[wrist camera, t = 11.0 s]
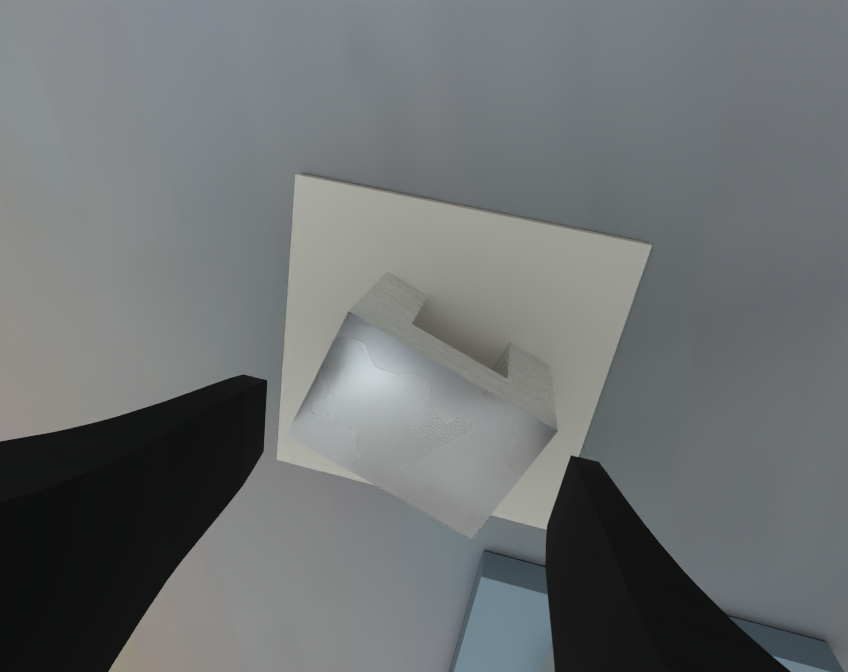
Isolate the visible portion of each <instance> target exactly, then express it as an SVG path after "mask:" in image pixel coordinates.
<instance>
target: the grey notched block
mask: <svg viewBox="0 0 848 672" xmlns="http://www.w3.org/2000/svg"><path fill="white" fill-rule="evenodd" d="M427 297H428V295H427V294H426V293H424V292H422V291H420V290H419V289H417V288H415V287H413V286H412V285H410V284H408V283H406V282H405V281H403V280H401V279H399V278H398V277H396V276H394V275H393V274H391V273H389V272H386V273H385V274H384V275H383V276H382V277H381V278H380V279H379V280H378V281H377V282H376V284H375V285H374V286H373V287H372V288H371V289H370V290H369V291H368V292H367V293H366V294H365V295H364V296H363V297H362V298H361V299H360V300H359V301H358V302H357V303H356V304H355V305H354V306H353V307H352V308H351V309H350V310H349V311H348V313H347V315H346V317H345V319H344V321H343V323H342V325H341V327H340V329H339V331H338V333H337V335H336V337H335V339H334V341H333V343H332V345H331V347H330V349H329V351H328V353H327V355H326V357H325V359H324V361H323V363H322V365H321V367H320V369H319V371H318V373H317V375H316V377H315V379H314V381H313V383H312V385H311V387H310V389H309V390H308V392H307V394H306V396H305V398H304V400H303V402H302V404H301V406H300V408H299V410H298V412H297V414H296V416H295V418H294V420H293V422H292V424H291V426H290V428H289V430H288V432H287V434H286V435H287V436H288V437H290V438H292V439H294V440H296V441H297V442H299V443H301V444H303V445H304V446H306V447H308V448H310V449H312V450H313V451H315V452H317V453H319V454H321V455H322V456H324V457H326V458H328V459H329V460H331V461H333V462H335V463H337V464H338V465H340V466H342V467H344V468H345V469H347V470H349V471H351V472H353V473H354V474H356V475H358V476H360V477H362V478H363V479H365V480H367V481H369V482H370V483H372V484H374V485H376V486H378V487H379V488H381V489H383V490H385V491H386V492H388V493H390V494H392V495H394V496H395V497H397V498H399V499H401V500H402V501H404V502H406V503H408V504H410V505H411V506H413V507H415V508H417V509H419V510H420V511H422V512H424V513H426V514H427V515H429V516H431V517H433V518H435V519H436V520H438V521H440V522H442V523H443V524H445V525H447V526H449V527H451V528H452V529H454V530H456V531H458V532H459V533H461V534H463V535H465V536H467V537H468V538H470V539H472V538H473V537H474V536H475V534H476V533H477V532H478V531H479V529H480V528H481V527H482V526H483V524H484V523H485V522H486V521H487V519H488V518H489V517H490V516H491V514H492V513H493V512H494V511H495V509H496V508H497V507H498V506H499V504H500V503H501V502H502V501H503V499H504V498H505V497H506V496H507V494H508V493H509V492H510V491H511V489H512V488H513V487H514V485H515V484H516V483H517V482H518V480H519V479H520V478H521V477H522V475H523V474H524V473H525V472H526V470H527V469H528V468H529V467H530V465H531V464H532V463H533V462H534V460H535V459H536V458H537V457H538V455H539V454H540V453H541V452H542V450H543V449H544V448H545V447H546V445H547V444H548V443H549V442H550V440H551V439H552V438H553V437H554V435H555V434H556V433H557V432H558V428H557V419H556V411H555V402H554V393H553V385H552V376H551V367H550V365H549V364H547V363H545V362H544V361H542V360H540V359H538V358H537V357H535V356H533V355H532V354H530V353H528V352H526V351H525V350H523V349H521V348H519V347H518V346H516V345H514V344H512V343H511V342H510V343H509V344H508V345H507V347H506V348H505V350H504V351H503V353H502V354H501V356H500V357H499V359H498V360H497V362H496V363H495V365H494V366H493V368H492V369H489V368H488V367H486V366H484V365H483V364H481V363H479V362H477V361H476V360H474V359H472V358H470V357H469V356H467V355H465V354H463V353H462V352H460V351H458V350H456V349H455V348H453V347H451V346H449V345H448V344H446V343H444V342H442V341H441V340H439V339H437V338H435V337H434V336H432V335H430V334H428V333H427V332H425V331H423V330H421V329H420V328H418V327H416V326H414V325H413V324H412V323H413V321H414V319H415V318H416V316H417V314H418V312H419V311H420V309H421V307H422V305H423V304H424V302H425V300H426V298H427Z"/></svg>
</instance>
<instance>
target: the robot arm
mask: <svg viewBox="0 0 848 672" xmlns="http://www.w3.org/2000/svg"><path fill="white" fill-rule="evenodd" d="M266 394H267V380H263V379H259V378H255V377H251V376H247V375H240V376H236V377H233V378H229V379H226V380H223V381H221V382H218V383H215V384H212V385H209V386H207V387H204V388H201V389H198V390H196V391H193V392H190V393H187V394H184V395H182V396H179V397H176V398H173V399H170V400H168V401H165V402H162V403H159V404H155V405H152V406H149V407H146V408H143V409H140V410H137V411H133V412H130V413H127V414H124V415H121V416H117V417H114V418H110V419H107V420H103V421H99V422H95V423H92V424H87V425H83V426H79V427H75V428H70V429H66V430H62V431H57V432H52V433H46V434H41V435H35V436H29V437H24V438H18V439H12V440H7V441H1V442H0V672H108V671H109V669H110V668H111V666H112V664H113V663H114V661H115V660H116V658H117V657H118V655H119V653H120V652H121V650H122V649H123V647H124V645H125V644H126V642H127V641H128V639H129V638H130V636H131V634H132V633H133V631H134V630H135V628H136V626H137V625H138V623H139V622H140V620H141V619H142V617H143V616H144V614H145V613H146V611H147V610H148V608H149V607H150V605H151V604H152V602H153V601H154V599H155V598H156V596H157V595H158V593H159V592H160V590H161V589H162V587H163V586H164V584H165V583H166V581H167V580H168V578H169V577H170V576H171V574H172V573H173V572H174V570H175V569H176V568H177V566H178V565H179V564H180V562H181V561H182V560H183V559H184V557H185V556H186V555H187V554H188V552H189V551H190V550H191V549H192V548H193V546H194V545H195V544H196V543H197V542H198V540H199V539H200V538H201V537H202V535H203V534H204V533H205V532H206V531H207V529H208V528H209V527H210V526H211V524H212V523H213V522H214V521H215V520H216V518H217V517H218V516H219V515H220V513H221V512H222V511H223V510H224V509H225V507H226V506H227V505H228V504H229V502H230V501H231V500H232V499H233V497H234V496H235V495H236V494H237V492H238V491H239V490H240V489H241V487H242V486H243V484H244V483H245V481H246V480H247V478H248V476H249V475H250V473H251V472H252V470H253V468H254V467H255V465H256V463H257V462H258V460H259V458H260V456H261V455H262V453H263V450H264V431H265V413H266ZM545 568H546V581H547V592H548V603H549V613H550V624H551V634H552V645H553V655H554V666H555V672H791V671H790V670H788V669H787V668H786V667H785V666H784V665H782V664H781V663H780V662H779V661H777V660H776V659H775V658H774V657H773V656H772V655H770V654H769V653H768V652H767V651H766V650H765V649H764V648H763V647H761V646H760V645H759V644H758V643H757V642H756V641H755V640H754V639H752V638H751V637H750V636H749V635H748V634H747V633H746V632H744V631H743V630H742V629H741V628H740V627H739V626H738V625H737V624H736V623H735V622H734V621H732V620H731V619H730V618H729V617H728V616H727V615H726V614H725V613H724V612H723V611H722V610H721V609H720V608H719V607H718V606H717V605H716V604H715V603H714V602H713V601H712V600H711V599H710V598H709V597H708V596H707V595H706V594H705V593H704V592H703V591H702V590H701V589H700V588H699V587H698V586H697V585H696V584H695V583H694V582H693V581H692V579H691V578H690V577H689V576H688V575H687V574H686V573H685V572H684V571H683V570H682V569H681V567H680V566H679V565H678V564H677V563H676V562H675V560H674V559H673V558H672V557H671V556H670V555H669V554H668V552H667V551H666V550H665V549H664V548H663V547H662V545H661V544H660V543H659V542H658V540H657V539H656V538H655V537H654V536H653V534H652V533H651V532H650V531H649V529H648V528H647V527H646V525H645V524H644V523H643V522H642V520H641V519H640V518H639V516H638V515H637V514H636V512H635V511H634V510H633V508H632V507H631V506H630V504H629V503H628V502H627V500H626V499H625V497H624V496H623V495H622V493H621V492H620V491H619V489H618V488H617V486H616V485H615V484H614V482H613V481H612V479H611V478H610V477H609V475H608V474H607V472H606V471H605V470H604V468H603V467H602V466H601V464H600V463H599V462H597V461H592V460H588V459H584V458H580V457H576V456H572V455H571V456H570V459H569V462H568V465H567V468H566V471H565V474H564V477H563V480H562V483H561V486H560V489H559V492H558V495H557V498H556V501H555V503H554V506H553V509H552V512H551V515H550V518H549V521H548V524H547V536H546V566H545Z"/></svg>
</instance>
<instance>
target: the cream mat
mask: <svg viewBox="0 0 848 672" xmlns="http://www.w3.org/2000/svg"><path fill="white" fill-rule="evenodd" d="M651 247H652V245H651V244H650V243H649V242H644V241H639V240H634V239H629V238H624V237H619V236H614V235H609V234H604V233H599V232H594V231H588V230H583V229H578V228H573V227H568V226H563V225H558V224H553V223H548V222H543V221H538V220H533V219H528V218H523V217H518V216H513V215H508V214H503V213H498V212H493V211H488V210H483V209H478V208H473V207H468V206H463V205H458V204H453V203H448V202H443V201H438V200H433V199H428V198H423V197H418V196H413V195H408V194H403V193H398V192H393V191H388V190H383V189H378V188H373V187H368V186H363V185H358V184H353V183H348V182H343V181H338V180H332V179H327V178H322V177H317V176H312V175H307V174H302V173H300V174H295V189H294V204H293V219H292V234H291V249H290V265H289V280H288V295H287V310H286V325H285V340H284V356H283V371H282V386H281V401H280V416H279V431H278V447H277V460H280V461H284V462H288V463H291V464H295V465H299V466H303V467H307V468H311V469H315V470H318V471H322V472H326V473H330V474H334V475H338V476H341V477H345V478H349V479H353V480H357V481H361V482H365V483H368V484H372V483H370V482H369V481H367V480H365V479H363V478H362V477H360V476H358V475H356V474H354V473H353V472H351V471H349V470H347V469H345V468H344V467H342V466H340V465H338V464H337V463H335V462H333V461H331V460H329V459H328V458H326V457H324V456H322V455H321V454H319V453H317V452H315V451H313V450H312V449H310V448H308V447H306V446H304V445H303V444H301V443H299V442H297V441H296V440H294V439H292V438H290V437H288V436H287V435H286V434H287V432H288V430H289V428H290V426H291V424H292V422H293V420H294V418H295V416H296V414H297V412H298V410H299V408H300V406H301V404H302V402H303V400H304V398H305V396H306V394H307V392H308V390H309V389H310V387H311V385H312V383H313V381H314V379H315V377H316V375H317V373H318V371H319V369H320V367H321V365H322V363H323V361H324V359H325V357H326V355H327V353H328V351H329V349H330V347H331V345H332V343H333V341H334V339H335V337H336V335H337V333H338V331H339V329H340V327H341V325H342V323H343V321H344V319H345V317H346V315H347V313H348V311H349V310H350V309H351V308H352V307H353V306H354V305H355V304H356V303H357V302H358V301H359V300H360V299H361V298H362V297H363V296H364V295H365V294H366V293H367V292H368V291H369V290H370V289H371V288H372V287H373V286H374V285H375V284H376V282H377V281H378V280H379V279H380V278H381V277H382V276H383V275H384V274H385V273H386V272H389V273H391V274H393V275H394V276H396V277H398V278H399V279H401V280H403V281H405V282H406V283H408V284H410V285H412V286H413V287H415V288H417V289H419V290H420V291H422V292H424V293H426V294H427V295H428V297H427V298H426V300H425V302H424V304H423V305H422V307H421V309H420V311H419V312H418V314H417V316H416V318H415V319H414V321H413V323H412V324H413V325H414V326H416V327H418V328H420V329H421V330H423V331H425V332H427V333H428V334H430V335H432V336H434V337H435V338H437V339H439V340H441V341H442V342H444V343H446V344H448V345H449V346H451V347H453V348H455V349H456V350H458V351H460V352H462V353H463V354H465V355H467V356H469V357H470V358H472V359H474V360H476V361H477V362H479V363H481V364H483V365H484V366H486V367H488V368H489V369H492V368H493V366H494V365H495V363H496V362H497V360H498V359H499V357H500V356H501V354H502V353H503V351H504V350H505V348H506V347H507V345H508V344H509V343H510V342H511V343H512V344H514V345H516V346H518V347H519V348H521V349H523V350H525V351H526V352H528V353H530V354H532V355H533V356H535V357H537V358H538V359H540V360H542V361H544V362H545V363H547V364H549V365H550V367H551V376H552V385H553V393H554V402H555V411H556V419H557V428H558V432H557V433H556V434H555V435H554V437H553V438H552V439H551V440H550V442H549V443H548V444H547V445H546V447H545V448H544V449H543V450H542V452H541V453H540V454H539V455H538V457H537V458H536V459H535V460H534V462H533V463H532V464H531V465H530V467H529V468H528V469H527V470H526V472H525V473H524V474H523V475H522V477H521V478H520V479H519V480H518V482H517V483H516V484H515V485H514V487H513V488H512V489H511V491H510V492H509V493H508V494H507V496H506V497H505V498H504V499H503V501H502V502H501V503H500V504H499V506H498V507H497V508H496V509H495V511H494V512H493V513H492V514H491V515H492V516H496V517H500V518H503V519H507V520H511V521H515V522H519V523H523V524H526V525H530V526H534V527H538V528H542V529H546V530H547V524H548V521H549V518H550V515H551V512H552V509H553V506H554V503H555V501H556V498H557V495H558V492H559V489H560V486H561V483H562V480H563V477H564V474H565V471H566V468H567V465H568V462H569V459H570V456H571V455H572V456H576V457H579V455H580V452H581V449H582V446H583V443H584V440H585V437H586V435H587V432H588V429H589V426H590V423H591V420H592V417H593V414H594V412H595V409H596V406H597V403H598V400H599V397H600V394H601V391H602V388H603V386H604V383H605V380H606V377H607V374H608V371H609V368H610V365H611V363H612V360H613V357H614V354H615V351H616V348H617V345H618V342H619V340H620V337H621V334H622V331H623V328H624V325H625V322H626V319H627V316H628V314H629V311H630V308H631V305H632V302H633V299H634V296H635V293H636V291H637V288H638V285H639V282H640V279H641V276H642V273H643V270H644V267H645V265H646V262H647V259H648V256H649V253H650V250H651ZM372 485H374V484H372Z"/></svg>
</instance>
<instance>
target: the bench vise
mask: <svg viewBox="0 0 848 672" xmlns="http://www.w3.org/2000/svg"><path fill="white" fill-rule="evenodd" d="M728 617H729V618H730V619H731V620H732V621H734V622H735V623H736V624H737V625H738V626H739V627H740V628H741V629H742V630H743V631H744V632H746V633H747V634H748V635H749V636H750V637H751V638H752V639H754V640H755V641H756V642H757V643H758V644H759V645H760V646H761V647H763V648H764V649H765V650H766V651H767V652H768V653H769V654H770V655H772V656H773V657H774V658H775V659H776V660H777V661H779V662H780V663H781V664H782V665H784V666H785V667H786V668H787V669H788V670H790V671H791V672H844V671H843V669H842V667H841V666H840V664H839V662H838V661H837V659H836V657H835V656H834V654H833V652H832V651H831V649H830V647H829V645H828V644H827V642H823V641H820V640H816V639H812V638H809V637H805V636H801V635H797V634H794V633H790V632H786V631H782V630H779V629H775V628H771V627H767V626H764V625H760V624H756V623H752V622H749V621H745V620H741V619H737V618H734V617H730V616H728ZM450 672H555V666H554V655H553V645H552V634H551V624H550V613H549V603H548V592H547V581H546V568H545V567H542V566H539V565H535V564H531V563H527V562H524V561H520V560H516V559H512V558H509V557H505V556H501V555H498V554H494V553H490V552H486V551H484V552H483V555H482V559H481V562H480V566H479V569H478V573H477V576H476V580H475V583H474V587H473V591H472V594H471V598H470V601H469V605H468V608H467V612H466V615H465V619H464V622H463V626H462V629H461V633H460V636H459V640H458V643H457V647H456V651H455V654H454V658H453V661H452V665H451V668H450Z"/></svg>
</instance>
